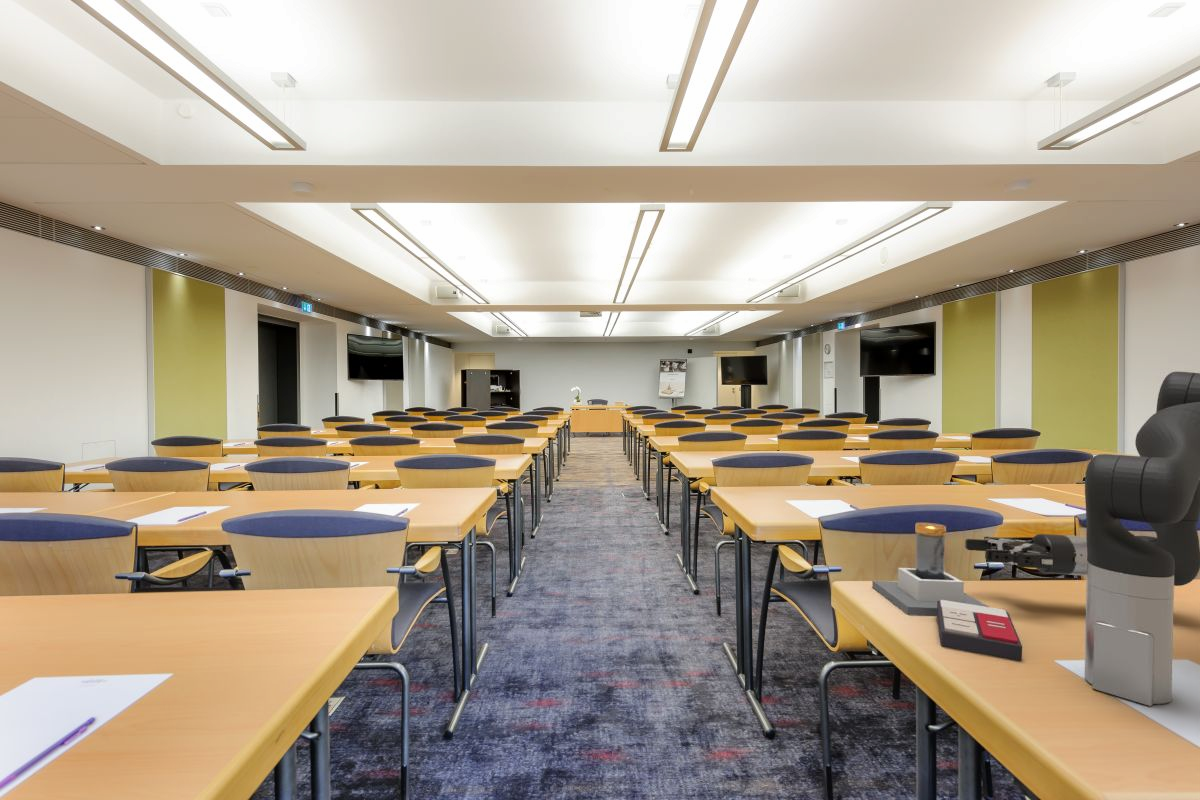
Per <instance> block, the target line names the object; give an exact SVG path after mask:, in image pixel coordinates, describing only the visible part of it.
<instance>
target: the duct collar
mask: <svg viewBox="0 0 1200 800" xmlns="http://www.w3.org/2000/svg"><path fill="white" fill-rule="evenodd" d="M964 583H965V581H963V580H961V579H959V578H958V577H955V576H953V575H951V574H950V573H948V572H946V571H944V580H931V579H920V578H919V577H917V576H916V567H915V568H914V567H911V568H910V567H897V581H893V580H872V585H871V586H872V589H873V590H875V591H876V592H878V593H879V594H880V595H882V596H883V597H884V598H885V599H886V600H888V601H889V602H890V603H892V604H893V605H894V606H896V607H897V608H898V609H899V610H901V611H902V612H903V613H904V614H906V615H908V616H926V617H927V616H929V617H930V616H931V617H932V616H933V617H937V601H940V600H947V601H953V602H959V603H965V604H972V605H978V606H984V607H989V606H988V605H987V604H985V603H983V602H982V601H980V600H977V599H976V598H975V597H973V596H971V595H969V594H968V593H965V592H964V591H965V590H964V588H965V586H964V585H965V584H964Z"/></svg>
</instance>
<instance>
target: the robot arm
mask: <svg viewBox="0 0 1200 800" xmlns="http://www.w3.org/2000/svg"><path fill="white" fill-rule="evenodd" d="M1134 442H1135V443H1134V444H1135V449H1136V451H1137V453H1138V455H1139V456H1138V455H1126V454H1125V455H1124V454H1106V453H1105V454H1102V453H1101V454H1096V455H1094V456H1093V457H1092V458H1091V459H1090V460H1089V462H1088V463H1087V466H1086V470H1085V474H1084V475H1085V477H1084V497H1085V501H1084V502H1085V517H1086V518H1085V519H1086V520H1085V521H1086V524H1085V525H1086V528H1085V529H1086V532H1085V533H1086V536H1081V535H1068V534H1050V533H1049V534H1048V533H1037V534H1035V535H1034V536H1033V537H1032V538H1031V540H1030V541H1029V543H1028V542H1027V543H1026V541H1025V540H1021V539H1017V538H1015V537H1014V538H1013V537H1012V538H1009V537H996V536H995V537H994V536H983V539H981V538H980V539H977V538H966V539H965V543H964V548H965V549H966V550H967V551H979V552H984V559H985V560H986V561H988V562H990V563H991V562H995V563H1008V564H1010V565H1013V566H1014V565H1017V567H1019V568H1027V569H1028V568H1033V569H1036V570H1037V571H1039V572H1040V573H1043V574H1053V575H1055V574H1057V575H1069V576H1071V575H1072V576H1086V588H1085V589H1086V591H1085V592H1086V595H1085V599H1086V600H1085V629H1084V630H1085V637H1084V638H1085V639H1084V640H1085V641H1084V642H1085V643H1084V679H1085V680H1086V682H1088V683H1089V684H1091V688H1092V689H1093V690H1097V691H1100V692H1103V693H1107V694H1110V695H1113V696H1117V697H1120V698H1123V699H1126V700H1129V701H1133V702H1137V703H1139V704H1142V705H1146V706H1149V707H1152V706H1153V705H1157V704H1161V705H1162V704H1167V703H1170V702H1171V701H1172V698H1173V697H1172V696H1173V693H1172V692H1173V650H1174V649H1173V645H1174V644H1173V642H1174V636H1173V635H1174V604H1175V603H1174V598H1175V587H1181V586H1186V585H1188V584H1190V583H1191V582H1192V581H1194V580H1195V578H1197V576H1198V574H1199V573H1200V538H1199V533H1198V524H1199V519H1200V372H1192V371H1191V372H1189V371H1172V372H1170V373H1168V374H1167V375H1166V376H1165V378H1164V379H1163V381H1162V383H1161V385H1160V387H1159V391H1158V395H1157V402H1156V411H1155V413H1154V414H1151V416H1150V417H1149V418H1148V419H1147V420H1146V421H1145V422H1144V424H1142V426H1141V427H1140V428H1139V430H1138V432H1137V433H1136V436H1135V441H1134ZM1121 520H1125V521H1130V522H1131V521H1132V522H1139V523H1146V524H1147V525H1148V526H1149V527H1151V529H1152V530H1153V531H1154V532H1155V534H1156V536H1151V535H1150V536H1149V535H1134V534H1133V533H1132V532H1130V531H1129V530H1128V529H1126V528H1125V526H1124V525H1123V524H1122V521H1121ZM993 544H996V545H995V546H993Z"/></svg>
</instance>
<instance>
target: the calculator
mask: <svg viewBox="0 0 1200 800" xmlns="http://www.w3.org/2000/svg"><path fill="white" fill-rule="evenodd" d="M1011 618H1012V617H1011V616H1010V614H1009V612H1008V611H1006V610H1005V609H1003V608H996V607H990V606H988V607H984V606H978V605H972V604H965V603H959V602H953V601H947V600H940V601H937V616H936V622H937V626H938V628H937V629H938V634H939V642H940V647H943V648H946V649H952V650H956V651H962V652H968V653H971V654H978V655H982V656H988V657H994V658H998V659H999V658H1000V659H1003V660H1005V659H1006V660H1010V661H1015V662H1023V645H1022V642H1021V640H1020V637H1019V635H1018V632H1017V630H1016V628H1015V625H1014V623H1013V620H1012V619H1011Z"/></svg>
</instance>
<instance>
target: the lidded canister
mask: <svg viewBox="0 0 1200 800" xmlns="http://www.w3.org/2000/svg"><path fill="white" fill-rule="evenodd" d="M914 530H915V533H916V539H915V540H916V541H915V543H916V544H915V545H916V546H915V551H916V552H915V554H916V555H915V556H916V557H915V568H916V576H917V577H919V578H920V579H931V580H944V572H945V557H946V556H945V548H946V547H945V546H946V545H945V544H946V543H945V539H946V536H947V526H946V525H944V524H940V523H934V522H933V523H932V522H916V523H915V529H914Z"/></svg>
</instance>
